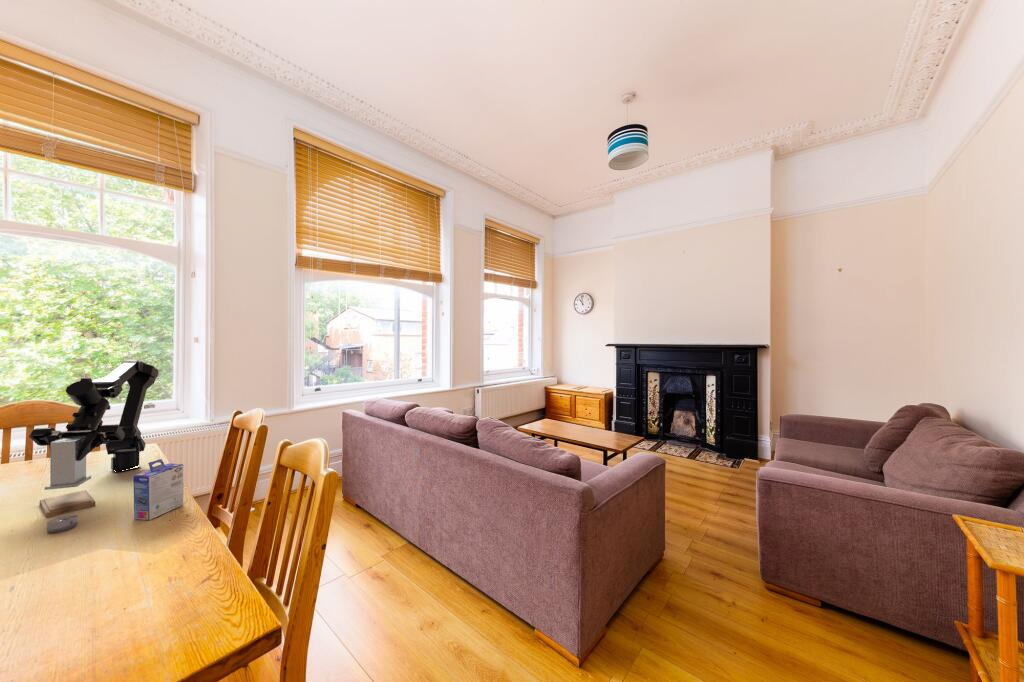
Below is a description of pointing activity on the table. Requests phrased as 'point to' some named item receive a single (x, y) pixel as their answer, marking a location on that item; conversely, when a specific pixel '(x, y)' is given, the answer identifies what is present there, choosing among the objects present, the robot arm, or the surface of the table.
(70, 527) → the grey rounded block
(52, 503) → the stand
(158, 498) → the ink cartridge box
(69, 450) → the block
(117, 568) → the table surface
